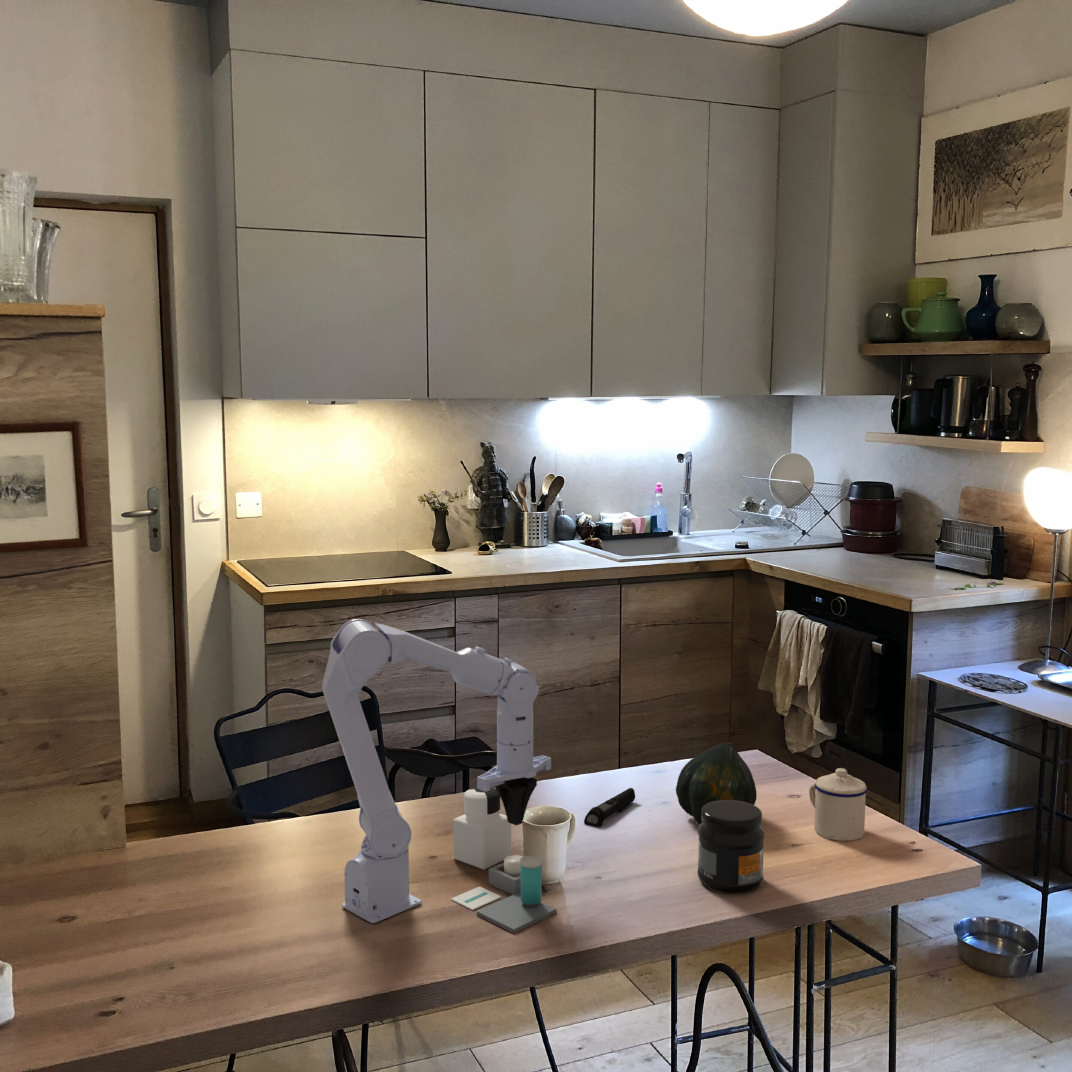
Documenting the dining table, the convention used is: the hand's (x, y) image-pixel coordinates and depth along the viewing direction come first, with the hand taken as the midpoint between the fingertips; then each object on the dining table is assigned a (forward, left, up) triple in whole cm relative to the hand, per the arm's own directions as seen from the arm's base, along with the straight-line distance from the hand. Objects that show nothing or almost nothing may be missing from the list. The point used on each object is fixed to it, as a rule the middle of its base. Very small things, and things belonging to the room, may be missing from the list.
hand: (515, 822), depth 172 cm
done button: (0, 0, -9) cm, 9 cm away
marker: (-4, -8, -10) cm, 13 cm away
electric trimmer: (+33, +9, -11) cm, 36 cm away
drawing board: (-7, -7, -10) cm, 14 cm away
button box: (0, 0, -10) cm, 10 cm away
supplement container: (+25, -24, -10) cm, 36 cm away
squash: (+45, -7, -10) cm, 47 cm away
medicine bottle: (+3, +11, -10) cm, 15 cm away
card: (-8, +1, -10) cm, 13 cm away
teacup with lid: (+56, -25, -10) cm, 62 cm away
